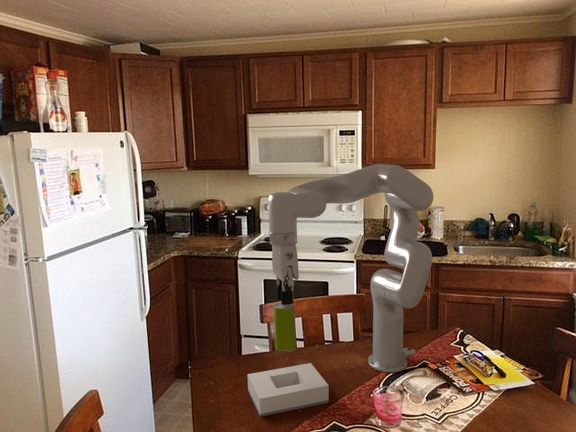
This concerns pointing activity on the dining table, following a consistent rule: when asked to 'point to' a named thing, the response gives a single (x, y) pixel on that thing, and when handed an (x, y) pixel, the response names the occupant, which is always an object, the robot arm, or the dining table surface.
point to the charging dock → (287, 389)
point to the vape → (285, 326)
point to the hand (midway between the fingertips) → (284, 301)
